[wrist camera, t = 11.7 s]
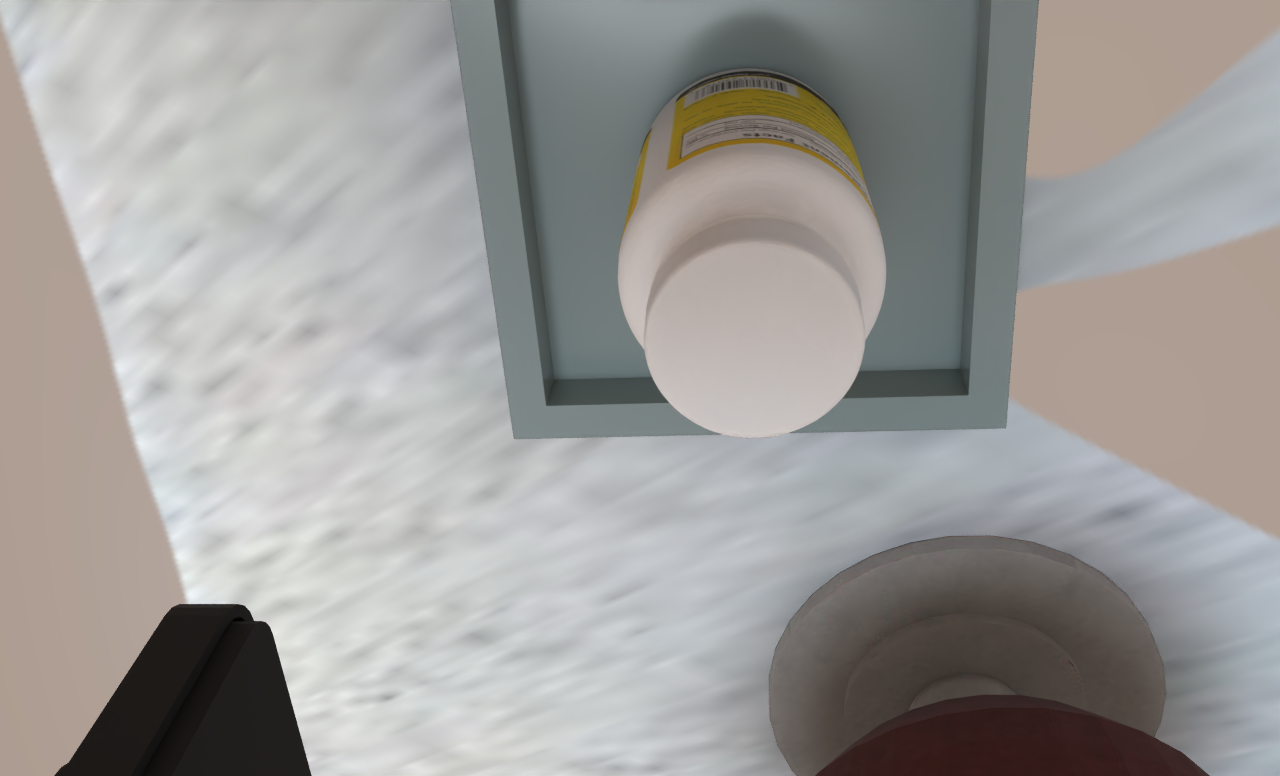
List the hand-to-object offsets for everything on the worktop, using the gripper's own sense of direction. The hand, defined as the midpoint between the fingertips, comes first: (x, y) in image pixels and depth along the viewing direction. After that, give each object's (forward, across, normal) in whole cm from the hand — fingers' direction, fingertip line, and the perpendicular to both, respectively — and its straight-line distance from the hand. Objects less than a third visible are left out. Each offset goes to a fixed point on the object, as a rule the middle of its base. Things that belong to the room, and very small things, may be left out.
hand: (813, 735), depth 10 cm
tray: (+22, +1, +3) cm, 23 cm away
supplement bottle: (+22, +1, +2) cm, 22 cm away
